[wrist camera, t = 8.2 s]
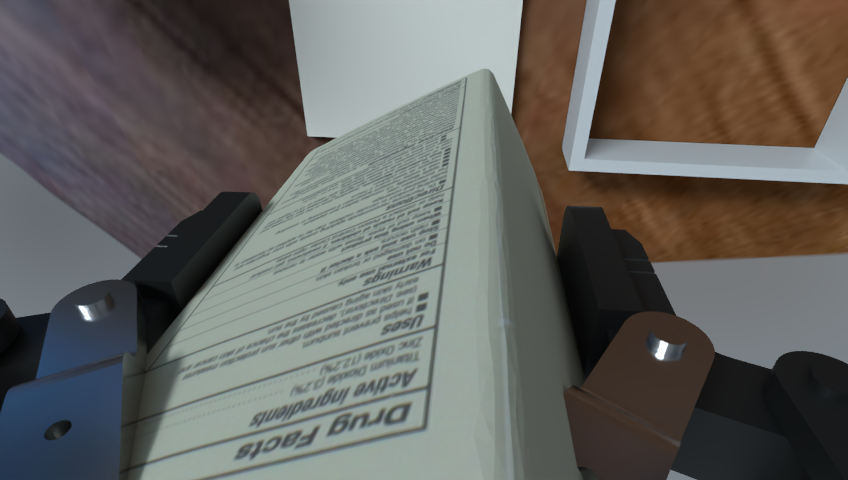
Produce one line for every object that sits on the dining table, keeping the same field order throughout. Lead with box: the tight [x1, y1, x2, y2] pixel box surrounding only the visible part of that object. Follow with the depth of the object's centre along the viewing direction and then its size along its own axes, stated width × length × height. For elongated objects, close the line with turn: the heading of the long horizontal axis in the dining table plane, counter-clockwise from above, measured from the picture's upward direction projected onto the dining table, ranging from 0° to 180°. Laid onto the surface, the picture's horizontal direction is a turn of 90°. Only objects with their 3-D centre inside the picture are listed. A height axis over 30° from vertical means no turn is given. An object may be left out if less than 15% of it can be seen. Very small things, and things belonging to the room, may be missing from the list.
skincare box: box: [128, 69, 586, 480], centre depth 10 cm, size 6×4×12 cm
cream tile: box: [289, 0, 523, 138], centre depth 30 cm, size 14×14×1 cm
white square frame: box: [562, 0, 848, 184], centre depth 27 cm, size 15×17×4 cm
